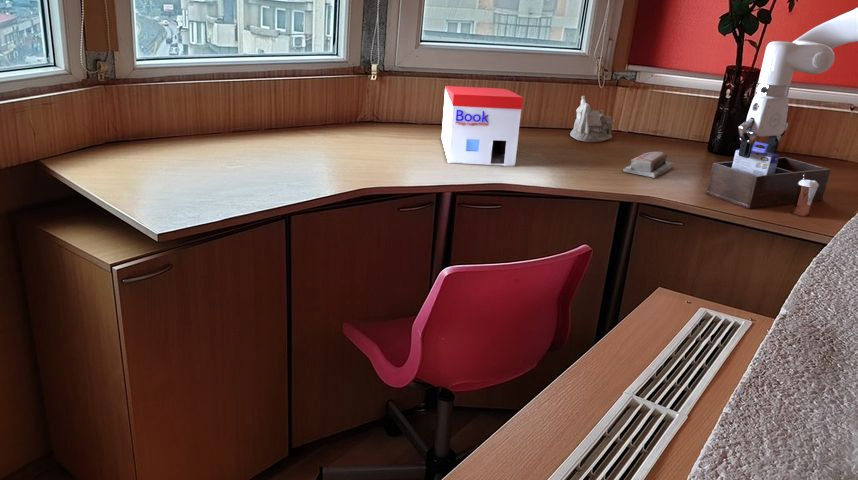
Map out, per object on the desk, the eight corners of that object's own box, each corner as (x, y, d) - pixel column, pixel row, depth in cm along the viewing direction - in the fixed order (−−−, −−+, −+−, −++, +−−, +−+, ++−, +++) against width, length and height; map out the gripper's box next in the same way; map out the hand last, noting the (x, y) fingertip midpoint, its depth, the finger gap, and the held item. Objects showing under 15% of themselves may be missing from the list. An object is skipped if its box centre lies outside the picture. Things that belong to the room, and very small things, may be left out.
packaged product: (658, 162, 211) (625, 157, 217) (655, 178, 213) (622, 172, 219) (675, 152, 225) (644, 147, 230) (672, 167, 227) (641, 162, 232)
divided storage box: (822, 200, 199) (831, 169, 196) (749, 209, 188) (757, 176, 185) (777, 186, 212) (784, 156, 208) (706, 193, 201) (712, 162, 197)
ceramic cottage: (575, 140, 258) (583, 98, 253) (566, 133, 273) (574, 93, 268) (618, 145, 258) (627, 103, 253) (607, 137, 273) (615, 97, 268)
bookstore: (448, 163, 220) (453, 94, 212) (441, 138, 252) (445, 78, 245) (515, 166, 220) (523, 97, 212) (500, 141, 253) (506, 80, 245)
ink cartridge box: (769, 198, 195) (783, 145, 190) (761, 201, 192) (774, 148, 186) (734, 189, 202) (745, 138, 196) (725, 192, 198) (736, 140, 193)
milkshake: (803, 210, 189) (813, 174, 185) (813, 217, 184) (824, 179, 180) (785, 210, 189) (795, 173, 185) (795, 216, 184) (805, 178, 180)
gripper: (760, 94, 180) (745, 161, 186) (807, 92, 186) (791, 157, 193) (736, 89, 186) (722, 154, 192) (782, 88, 193) (767, 150, 199)
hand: (756, 155), depth 193 cm, fingers open, 9 cm apart
